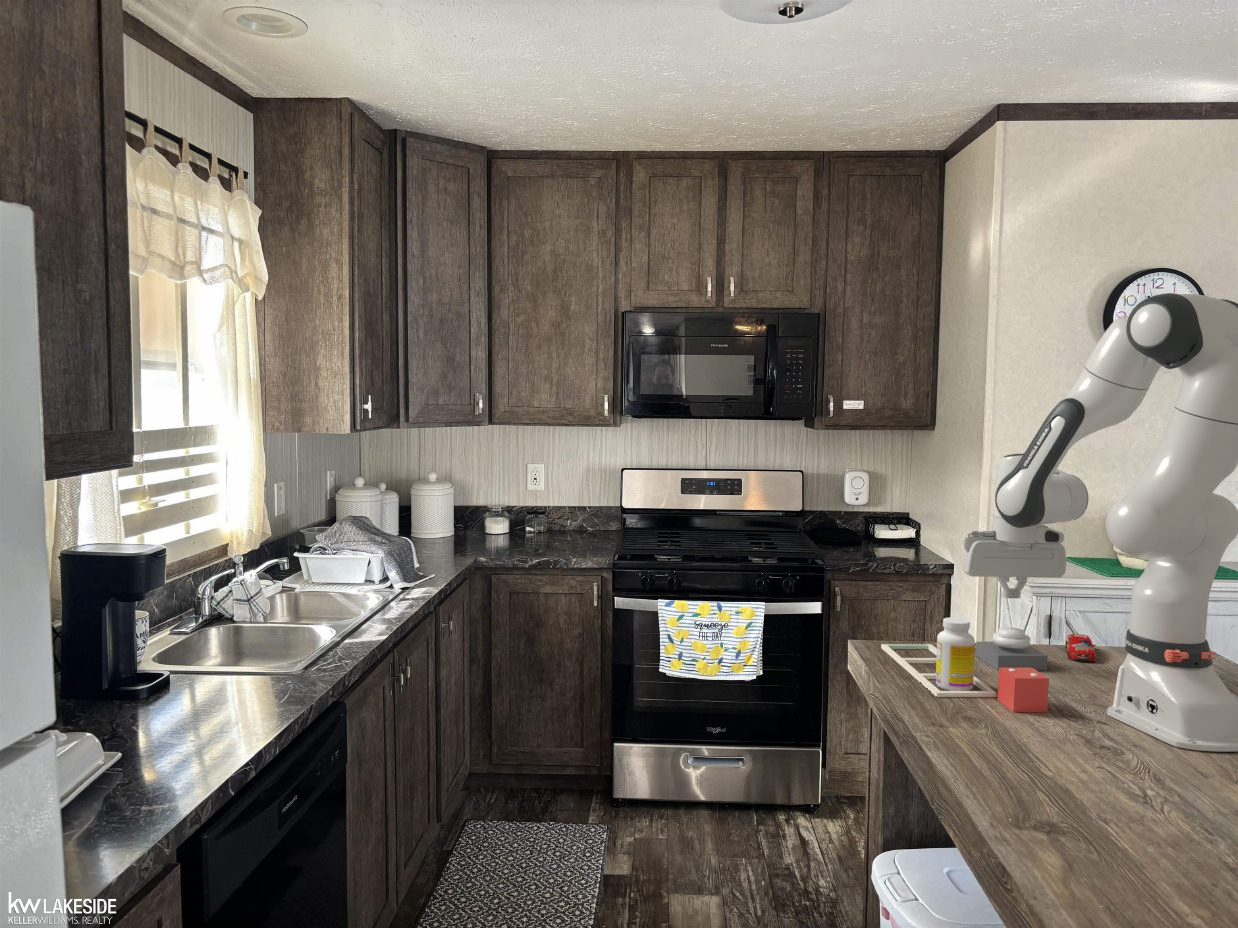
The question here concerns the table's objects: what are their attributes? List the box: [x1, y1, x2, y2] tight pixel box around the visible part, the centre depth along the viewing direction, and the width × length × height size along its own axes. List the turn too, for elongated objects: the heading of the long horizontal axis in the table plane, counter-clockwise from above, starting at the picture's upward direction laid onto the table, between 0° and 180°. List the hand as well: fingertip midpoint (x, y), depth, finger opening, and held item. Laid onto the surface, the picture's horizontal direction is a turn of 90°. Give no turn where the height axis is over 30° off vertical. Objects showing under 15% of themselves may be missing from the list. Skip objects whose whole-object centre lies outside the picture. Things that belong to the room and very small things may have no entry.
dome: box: [992, 626, 1031, 649], centre depth 178 cm, size 7×7×3 cm
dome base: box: [975, 641, 1048, 671], centre depth 179 cm, size 10×10×3 cm
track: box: [880, 643, 998, 698], centre depth 173 cm, size 31×11×1 cm, turn 1°
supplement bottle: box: [935, 616, 976, 691], centre depth 163 cm, size 7×7×13 cm
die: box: [997, 668, 1050, 713], centre depth 153 cm, size 6×6×6 cm
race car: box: [1065, 633, 1097, 663], centre depth 185 cm, size 13×5×4 cm, turn 155°
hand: (1011, 597), depth 178 cm, fingers closed
